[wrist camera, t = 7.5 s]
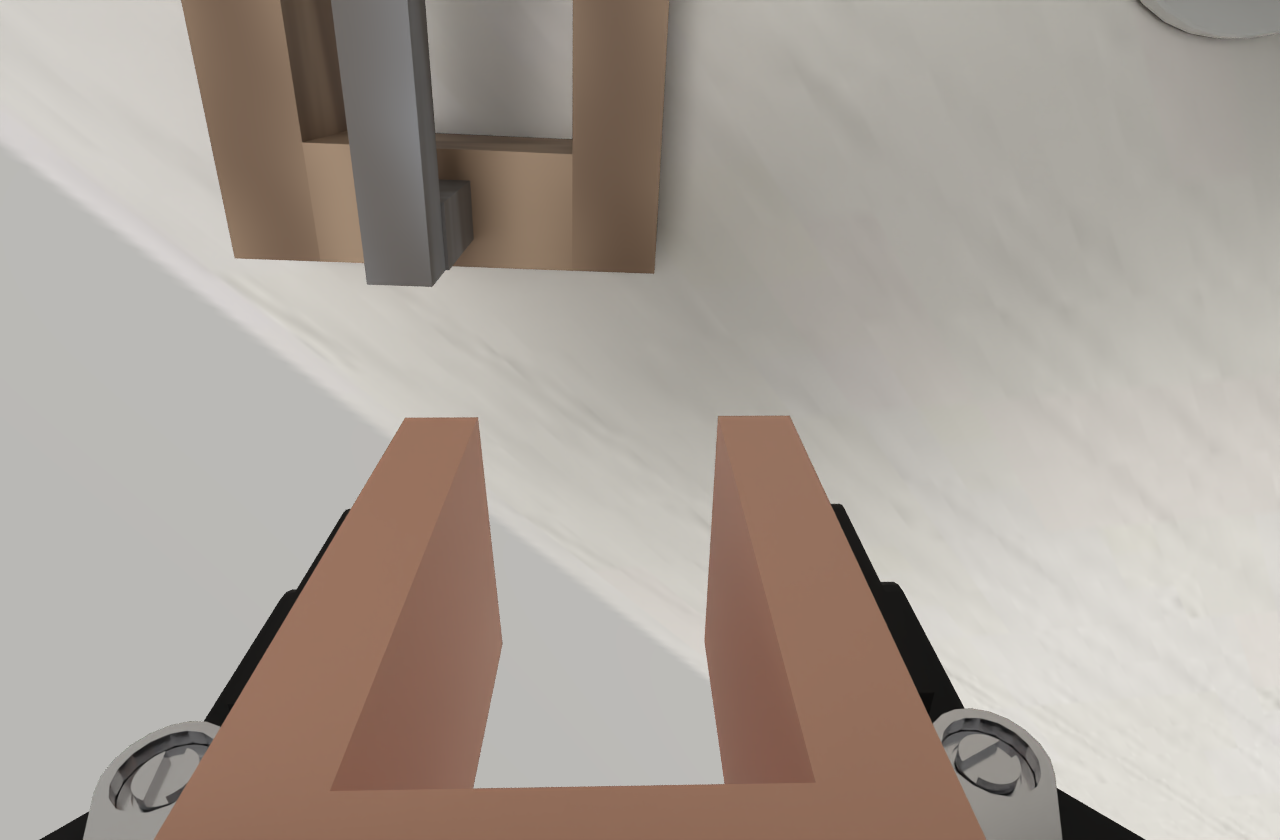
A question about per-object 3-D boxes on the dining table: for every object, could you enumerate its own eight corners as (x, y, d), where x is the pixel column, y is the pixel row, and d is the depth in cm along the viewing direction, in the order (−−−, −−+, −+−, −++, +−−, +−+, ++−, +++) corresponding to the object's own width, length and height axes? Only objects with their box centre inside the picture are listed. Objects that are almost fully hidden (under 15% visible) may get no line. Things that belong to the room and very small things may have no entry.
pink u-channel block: (788, 415, 12) (1031, 936, 5) (765, 640, 14) (905, 1219, 7) (405, 418, 12) (82, 959, 5) (441, 644, 14) (259, 1239, 7)
